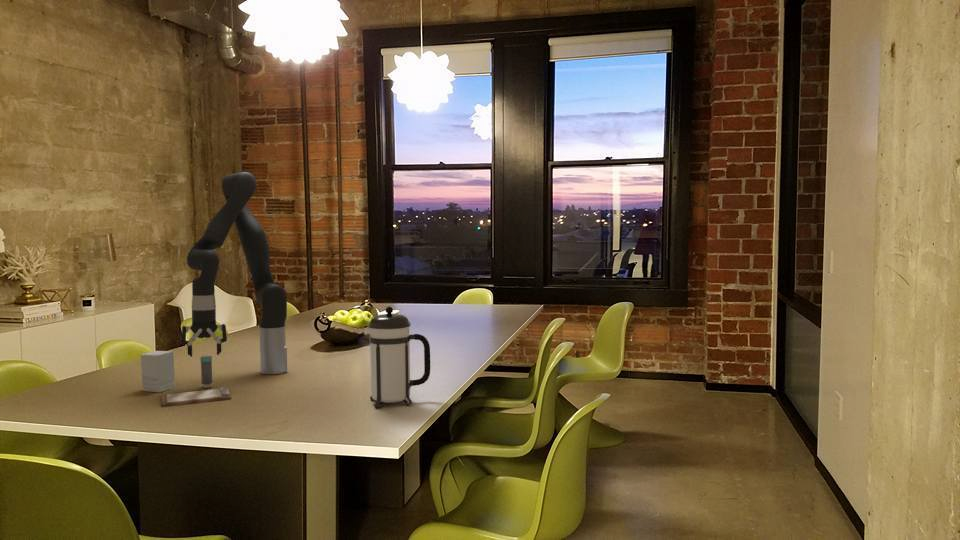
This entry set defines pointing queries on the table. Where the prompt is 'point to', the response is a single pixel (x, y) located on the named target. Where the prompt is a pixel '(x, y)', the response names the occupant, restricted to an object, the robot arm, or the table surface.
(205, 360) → the marker
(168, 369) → the supplement box
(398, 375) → the coffee press
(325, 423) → the table surface
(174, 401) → the writing board
